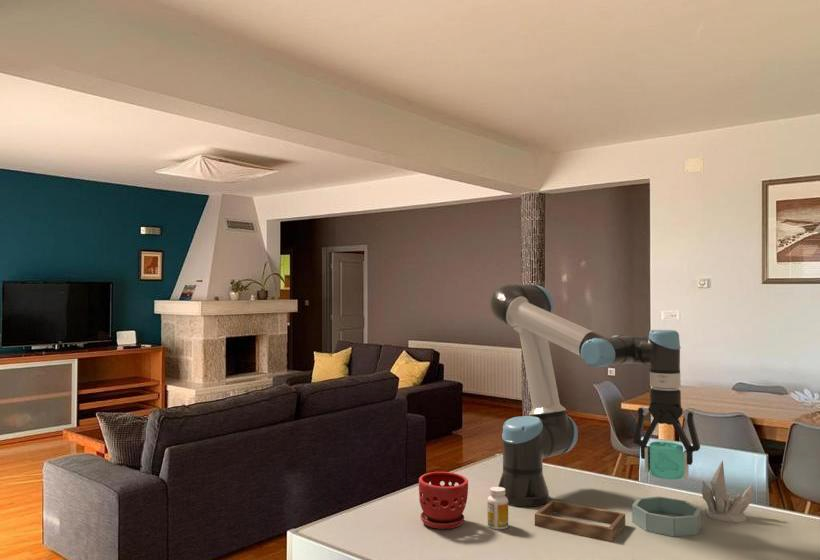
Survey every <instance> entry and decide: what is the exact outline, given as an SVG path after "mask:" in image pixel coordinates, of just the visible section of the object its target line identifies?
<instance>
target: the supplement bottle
mask: <svg viewBox="0 0 820 560" xmlns="http://www.w3.org/2000/svg"><path fill="white" fill-rule="evenodd" d="M489 494H490V495H489V496H488V497H487V527H489V528H491V529H494V530H504V529H508V527H509V504H508V499H507V497H505V488H503V487H498V486H492V487H490V488H489Z"/></svg>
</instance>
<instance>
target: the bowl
mask: <svg viewBox="0 0 820 560" xmlns="http://www.w3.org/2000/svg"><path fill="white" fill-rule="evenodd" d="M631 507H632V508H631V517H632V518H631V520H632V521H631V522H632V523H633V524H635V525H636V526H637V527H639V528H641V529H643V530H644V531H646V532H648V533H655V534H659V535H665V536H668V537H669V536H670V537H685V536H695V535H698V534H699V532H700V530H701V529H702V508H701V507H699V506H697V505H694V504H693V503H690V502H688V501H686V500H685V499H684V500H683V499H678V498H672V497H665V496H659V495H658V496H648V497H637V498H636V500H635V501H634V502H633V503H632V505H631Z"/></svg>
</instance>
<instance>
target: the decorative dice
mask: <svg viewBox="0 0 820 560" xmlns="http://www.w3.org/2000/svg"><path fill="white" fill-rule="evenodd" d="M649 446H650V471H649V472H650V475H651V476H653V477H655V478H658V479H663V480H679V479H682V478H684V458H683V452H684V449H683V447H684V445H683V444H680V443H677V442H672V441H665V440H664V441H661V440H659V441H653V442H650V443H649Z"/></svg>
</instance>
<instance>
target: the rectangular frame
mask: <svg viewBox="0 0 820 560" xmlns="http://www.w3.org/2000/svg"><path fill="white" fill-rule="evenodd" d="M553 514H561V515H565V516H569V517H574V518H578V519H585V520H590V521H595V522H602V523H606V524H610V525H609V526H604V525H599V524H594V523H590V522H589V523H588V522H585V521H584V522H583V521H579V520H574V519H568V518H564V517H559V516H555V515H554V516H553ZM534 526H536V527H540V528H545V529H550V530H554V531H560V532H563V533H568V534H573V535H579V536H582V537H589V538H592V539H599V540H603V541H606V542H607V541H608V542H613V541H614V540H615V538H617V536H618V535H619V534H620V533H621V531H622V530H623V528H624V527H625V526H626V513H624V512H619V511H614V510H608V509H602V508H598V507H591V506H586V505H582V504H581V505H580V504H575V503H569V502H565V501H564V502H563V501H560V500H559V501H557V500H553V499H552V500H550V501H548V502H547V503H546V504H544V506H543V507H541V508H540V509H539V510H538V511H536V512H535V513H534Z"/></svg>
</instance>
